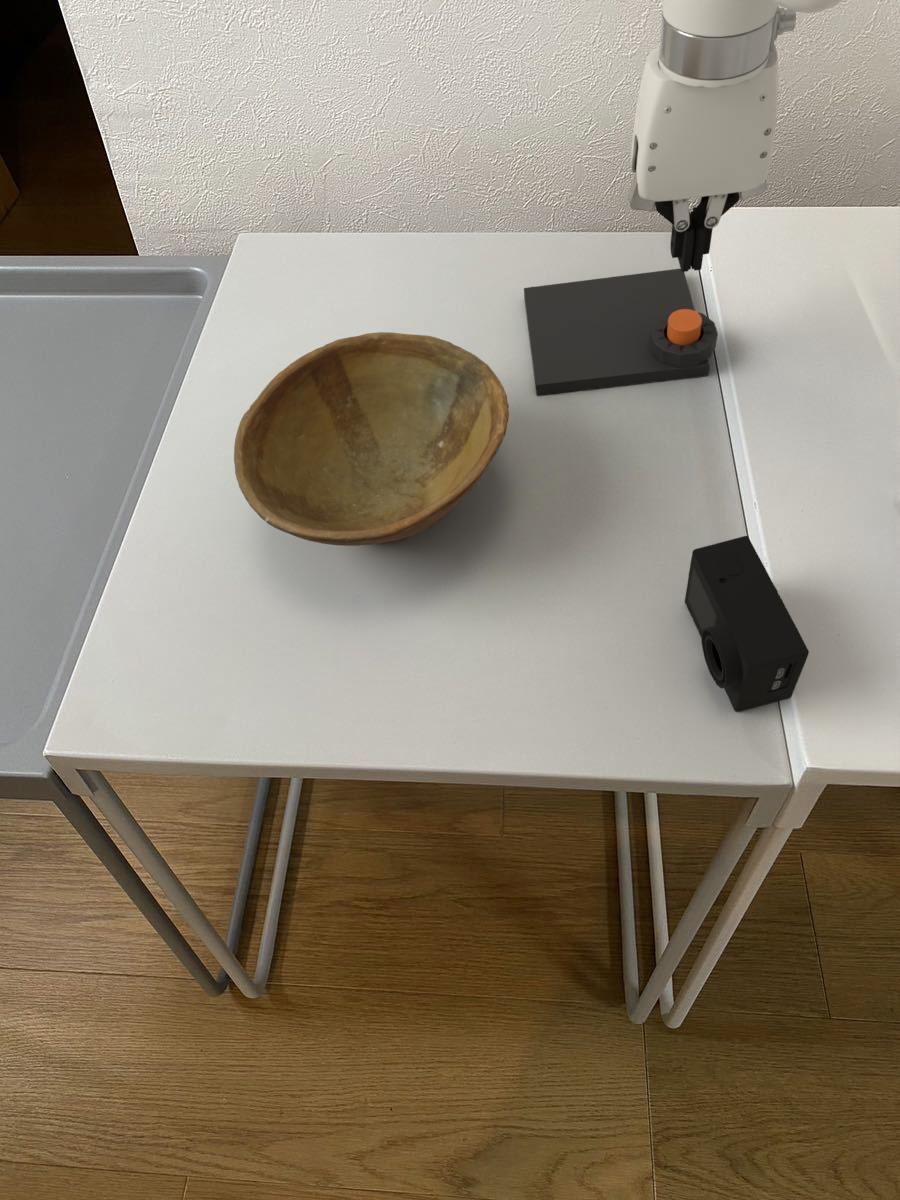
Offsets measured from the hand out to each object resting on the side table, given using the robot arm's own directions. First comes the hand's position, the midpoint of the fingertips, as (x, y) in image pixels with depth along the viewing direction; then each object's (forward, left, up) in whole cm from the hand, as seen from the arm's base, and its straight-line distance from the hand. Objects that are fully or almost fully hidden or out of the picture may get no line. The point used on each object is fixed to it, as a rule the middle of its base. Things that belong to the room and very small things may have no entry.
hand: (688, 260), depth 80 cm
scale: (+6, -4, -11) cm, 13 cm away
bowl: (+28, +14, -11) cm, 33 cm away
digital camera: (+2, +32, -11) cm, 34 cm away
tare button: (0, 0, -8) cm, 8 cm away
